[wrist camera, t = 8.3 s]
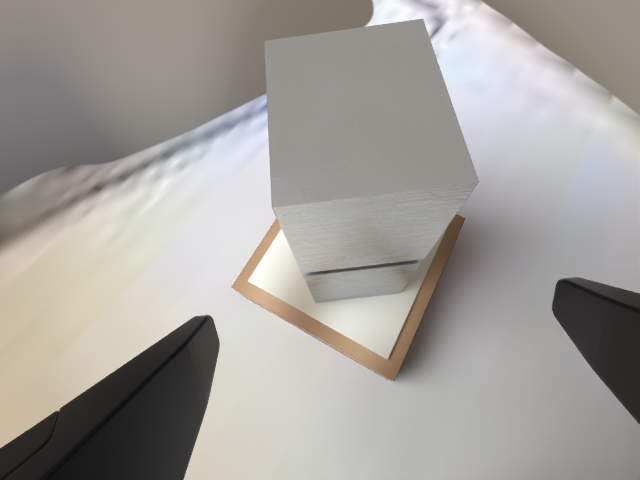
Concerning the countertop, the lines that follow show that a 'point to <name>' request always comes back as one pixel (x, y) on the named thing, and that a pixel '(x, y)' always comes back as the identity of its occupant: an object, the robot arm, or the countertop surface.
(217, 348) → the robot arm
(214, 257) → the countertop surface
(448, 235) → the stand
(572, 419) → the countertop surface
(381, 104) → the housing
